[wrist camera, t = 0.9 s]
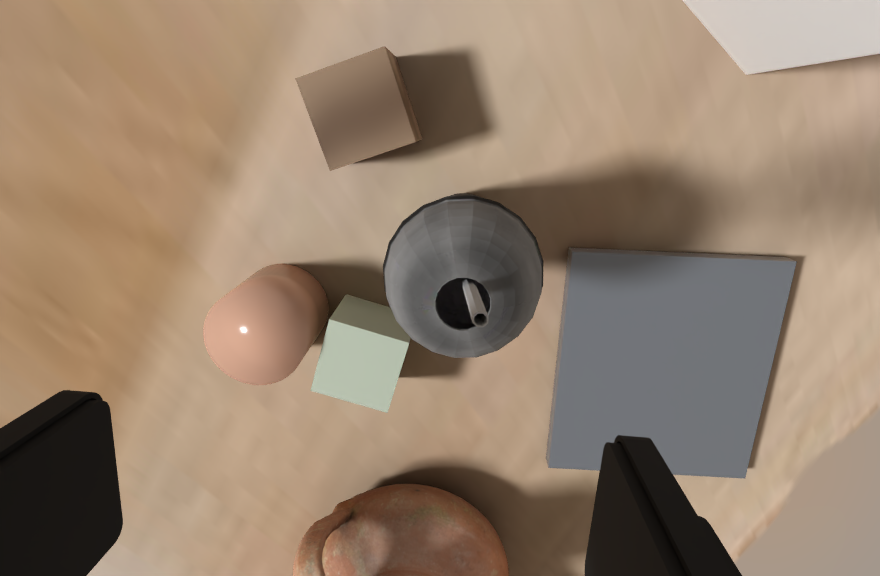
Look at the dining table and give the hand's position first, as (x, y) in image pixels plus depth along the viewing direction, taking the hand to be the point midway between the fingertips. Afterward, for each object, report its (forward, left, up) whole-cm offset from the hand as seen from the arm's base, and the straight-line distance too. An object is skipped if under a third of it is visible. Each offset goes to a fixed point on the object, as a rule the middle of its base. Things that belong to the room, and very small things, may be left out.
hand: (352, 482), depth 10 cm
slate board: (+9, +16, -27) cm, 32 cm away
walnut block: (-7, -4, -27) cm, 28 cm away
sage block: (+8, -4, -27) cm, 28 cm away
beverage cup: (0, +2, -27) cm, 27 cm away
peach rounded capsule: (+6, -10, -27) cm, 29 cm away
